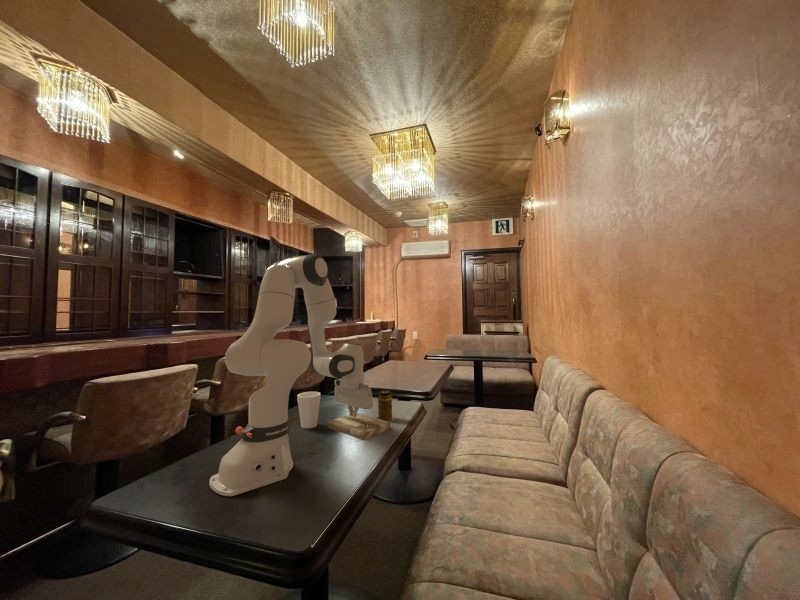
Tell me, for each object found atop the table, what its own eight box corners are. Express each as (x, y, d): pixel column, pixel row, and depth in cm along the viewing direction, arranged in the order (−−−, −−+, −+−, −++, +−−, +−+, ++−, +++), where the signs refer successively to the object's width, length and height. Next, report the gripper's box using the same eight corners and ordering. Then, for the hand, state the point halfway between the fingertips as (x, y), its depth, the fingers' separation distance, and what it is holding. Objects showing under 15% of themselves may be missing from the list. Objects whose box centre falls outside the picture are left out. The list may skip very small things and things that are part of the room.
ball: (364, 432, 129) (370, 433, 126) (363, 424, 129) (368, 425, 127) (371, 430, 131) (376, 431, 129) (369, 422, 131) (375, 422, 129)
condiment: (396, 419, 144) (395, 391, 144) (381, 424, 138) (381, 395, 138) (385, 415, 149) (384, 389, 149) (370, 420, 143) (370, 392, 144)
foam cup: (293, 425, 137) (293, 394, 137) (313, 420, 143) (313, 390, 144) (303, 431, 130) (303, 398, 130) (324, 426, 136) (324, 394, 137)
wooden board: (363, 440, 121) (363, 433, 121) (327, 427, 134) (327, 421, 134) (390, 428, 132) (390, 422, 132) (355, 418, 146) (355, 412, 146)
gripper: (376, 384, 131) (376, 419, 131) (343, 378, 145) (343, 409, 144) (364, 386, 127) (364, 423, 126) (331, 380, 140) (331, 413, 139)
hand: (353, 416), depth 135 cm, fingers closed
